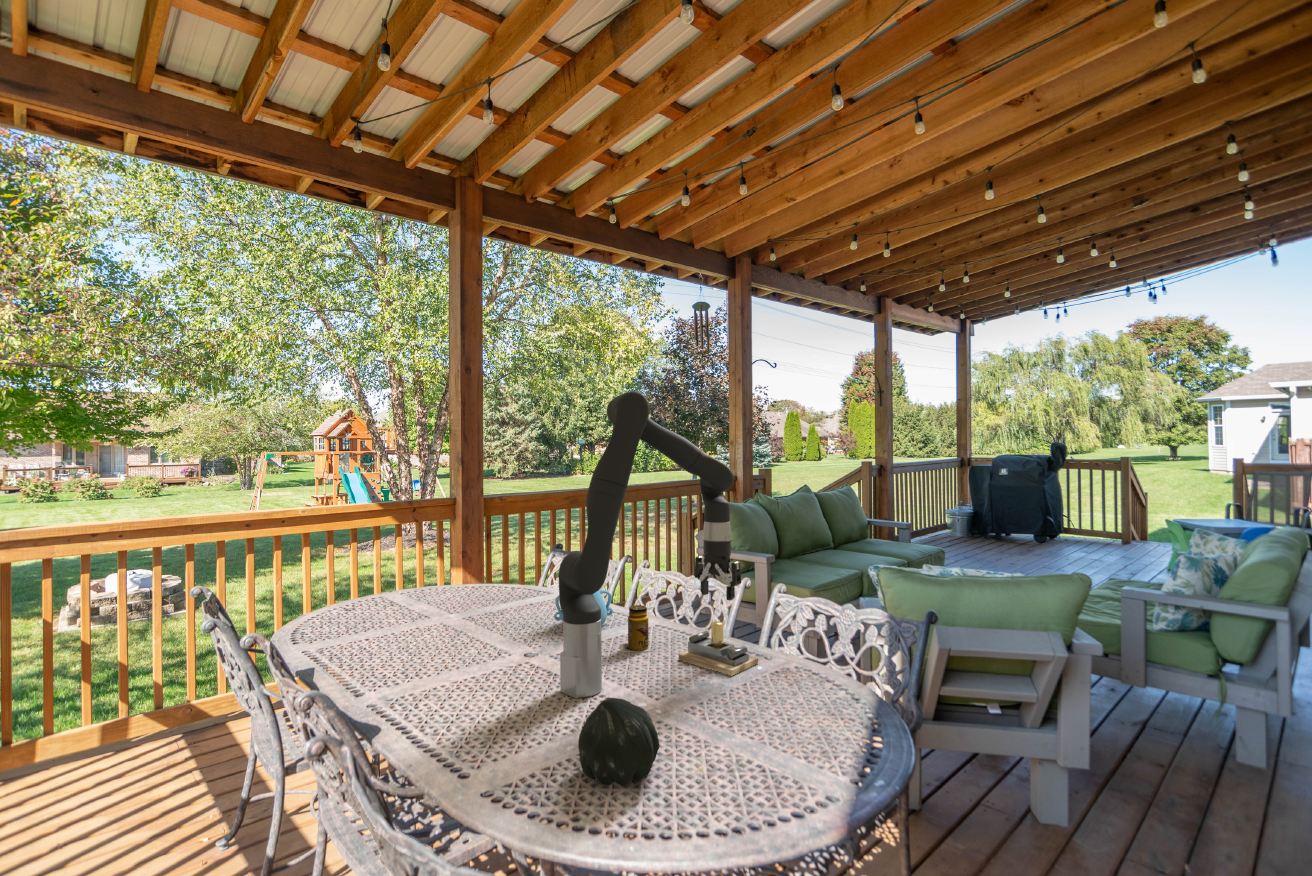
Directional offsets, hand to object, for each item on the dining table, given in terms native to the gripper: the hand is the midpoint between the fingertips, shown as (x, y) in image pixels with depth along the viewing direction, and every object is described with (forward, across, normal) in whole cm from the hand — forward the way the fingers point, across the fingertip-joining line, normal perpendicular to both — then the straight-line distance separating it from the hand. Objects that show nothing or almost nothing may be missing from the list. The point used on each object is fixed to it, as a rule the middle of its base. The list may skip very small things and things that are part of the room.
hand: (717, 597), depth 166 cm
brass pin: (+16, 0, 0) cm, 16 cm away
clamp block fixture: (+18, 0, 0) cm, 18 cm away
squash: (+18, +21, -57) cm, 63 cm away
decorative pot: (+18, -53, -3) cm, 56 cm away
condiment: (+18, -25, -7) cm, 32 cm away
